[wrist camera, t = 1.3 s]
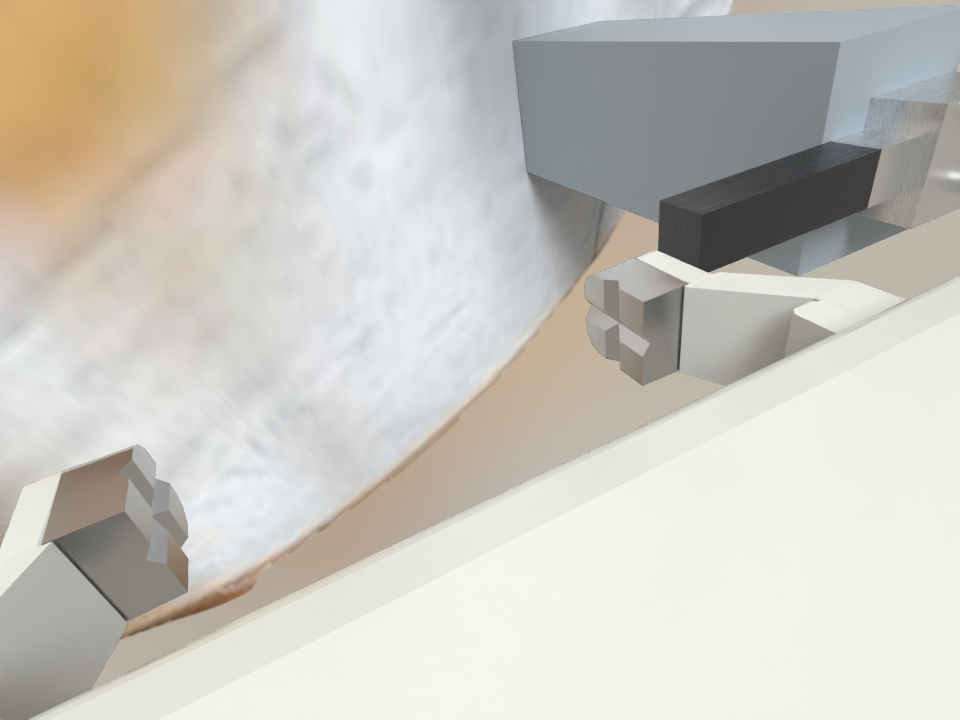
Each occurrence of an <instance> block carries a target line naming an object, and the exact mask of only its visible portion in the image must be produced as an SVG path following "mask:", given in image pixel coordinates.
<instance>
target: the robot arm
mask: <svg viewBox="0 0 960 720" xmlns="http://www.w3.org/2000/svg"><path fill="white" fill-rule="evenodd" d="M584 289H585V290H584V291H585V298H586V299H587V301H588V302H589V303H590V304H592V306H591V308H590V310H589V312H588V315H587V316H586V324H587V333H588V335H589V337H590V340H591V342H592V345H593V346H594V347H595V349H596V350H597V351H598V353H600V354H601V355H602V356H603V357H605V358H606V359H611V360H616V361H620V370H622V371H623V372H625V373H626V374H627V375H629V376H630V377H631V378H633V379H634V380H635V381H637V382H638V383H639V384H641V385H642V386H644V385H646V384H648V383H651V382H653V381H655V380H658V379H660V378H662V377H665V376H667V375H670V374H672V373H674V372H677V371H679V372H680V373H683V374H687V375H690V376H693V377H697V378H700V379H704V380H707V381H711V382H714V383H718V384H722V385H725V387H723V388H721V389H719V390H717V391H715V392H712V393H710V394H709V395H706V396H704V397H702V398H700V399H698V400H696V401H694V402H692V403H689V404H687V405H685V406H683V407H681V408H679V409H677V410H675V411H673V412H671V413H669V414H666V415H664V416H662V417H660V418H658V419H656V420H654V421H652V422H650V423H648V424H646V425H644V426H642V427H639V428H637V429H635V430H633V431H631V432H629V433H627V434H625V435H623V436H620V437H618V438H616V439H614V440H612V441H610V442H608V443H606V444H604V445H602V446H600V447H597V448H595V449H593V450H591V451H589V452H587V453H585V454H583V455H581V456H579V457H577V458H574V459H573V460H570V461H568V462H566V463H564V464H562V465H560V466H558V467H556V468H554V469H551V470H549V471H547V472H545V473H543V474H541V475H539V476H537V477H535V478H533V479H531V480H528V481H526V482H524V483H522V484H520V485H518V486H516V487H514V488H512V489H510V490H508V491H505V492H503V493H501V494H499V495H497V496H495V497H493V498H491V499H489V500H487V501H485V502H482V503H480V504H478V505H476V506H474V507H472V508H470V509H468V510H466V511H464V512H462V513H459V514H457V515H455V516H453V517H451V518H449V519H447V520H445V521H443V522H441V523H439V524H436V525H434V526H432V527H430V528H428V529H426V530H424V531H422V532H420V533H418V534H415V535H414V536H411V537H409V538H407V539H405V540H403V541H401V542H399V543H397V544H395V545H393V546H390V547H388V548H386V549H384V550H382V551H380V552H378V553H376V554H374V555H372V556H369V557H367V558H365V559H363V560H361V561H359V562H357V563H355V564H353V565H351V566H348V567H346V568H344V569H343V570H340V571H338V572H336V573H334V574H332V575H330V576H328V577H325V578H323V579H321V580H319V581H317V582H315V583H313V584H311V585H309V586H307V587H305V588H302V589H300V590H298V591H297V592H294V593H292V594H290V595H288V596H286V597H284V598H282V599H279V600H277V601H275V602H273V603H271V604H269V605H267V606H265V607H263V608H261V609H258V610H257V611H254V612H252V613H250V614H248V615H246V616H244V617H242V618H240V619H238V620H235V621H233V622H231V623H229V624H227V625H225V626H223V627H221V628H219V629H217V630H214V631H212V632H210V633H208V634H206V635H204V636H202V637H200V638H198V639H196V640H194V641H191V642H189V643H187V644H185V645H183V646H181V647H179V648H177V649H175V650H173V651H171V652H169V653H166V654H164V655H162V656H160V657H158V658H156V659H154V660H152V661H150V662H147V663H145V664H143V665H141V666H139V667H137V668H135V669H133V670H131V671H129V672H127V673H124V674H122V675H120V676H118V677H116V678H114V679H112V680H110V681H108V682H106V683H104V684H102V685H100V686H97V687H95V688H93V689H92V687H93V685H94V684H95V682H96V680H97V679H98V677H99V675H100V673H101V671H102V670H103V668H104V666H105V664H106V662H107V661H108V659H109V657H110V655H111V654H112V652H113V650H114V648H115V647H116V645H117V643H118V642H119V640H120V638H121V636H122V635H123V633H124V631H125V629H126V628H127V626H128V622H127V621H129V620H131V619H133V618H135V617H137V616H139V615H141V614H143V613H145V612H148V611H150V610H152V609H154V608H156V607H158V606H160V605H162V604H164V603H166V602H168V601H170V600H172V599H175V598H177V597H179V596H181V595H183V594H185V593H187V592H188V558H187V556H186V555H185V554H184V552H183V551H182V549H181V547H182V545H183V544H184V542H185V541H186V539H187V538H188V524H187V520H186V516H185V512H184V508H183V506H182V504H181V502H180V500H179V498H178V495H177V494H176V492H175V491H174V489H173V488H172V486H171V485H170V483H167V482H164V481H161V480H158V479H155V474H156V463H155V461H154V460H153V459H152V457H151V456H150V455H149V453H148V452H147V450H146V449H145V448H143V447H142V446H140V445H138V444H137V445H134V446H132V447H129V448H126V449H123V450H120V451H118V452H115V453H112V454H109V455H106V456H103V457H101V458H98V459H95V460H92V461H89V462H87V463H84V464H81V465H78V466H75V467H72V468H70V469H68V470H66V471H60V472H57V473H55V474H52V475H50V476H47V477H45V478H42V479H40V480H37V481H35V482H32V483H30V484H28V485H27V486H25V487H23V489H22V491H21V494H20V497H19V499H18V502H17V505H16V507H15V510H14V513H13V515H12V518H11V521H10V523H9V526H8V529H7V531H6V534H5V537H4V539H3V542H2V545H1V547H0V720H960V274H959V275H957V276H955V277H953V278H951V279H949V280H947V281H945V282H942V283H940V284H938V285H936V286H934V287H932V288H930V289H928V290H926V291H924V292H922V293H920V294H917V295H915V296H913V297H911V298H909V299H907V300H906V299H903V298H900V297H898V296H895V295H892V294H889V293H886V292H884V291H881V290H878V289H875V288H873V287H869V286H867V285H864V284H862V283H859V282H856V281H851V280H833V279H818V278H800V277H785V276H768V275H753V274H737V273H736V274H735V273H721V272H720V273H716V274H714V275H712V274H709V273H707V272H705V271H703V270H700V269H698V268H696V267H694V266H691V265H689V264H687V263H684V262H682V261H680V260H678V259H675V258H673V257H671V256H669V255H666V254H664V253H662V252H659V251H649V252H647V253H644V254H642V255H640V256H637V257H635V258H633V259H630V260H628V261H625V262H623V263H620V264H618V265H615V266H613V267H610V268H608V269H605V270H603V271H600V272H598V273H596V274H593V275H591V276H589V277H587V278H586V282H585V285H584Z"/></svg>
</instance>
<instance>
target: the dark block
mask: <svg viewBox="0 0 960 720" xmlns="http://www.w3.org/2000/svg"><path fill="white" fill-rule="evenodd" d="M959 208H960V72H947V73H944V74H941V75H938V76H935V77H932V78H929V79H926V80H923V81H920V82H917V83H914V84H911V85H907V86H904V87H901V88H898V89H895V90H892V91H889V92H886V93H883V94H880V95H877V96H874V97H871V99H870V103H869V108H868V112H867V117H866V121H865V126H864V130H862V131H859V132H856V133H853V134H850V135H847V136H844V137H841V138H838V139H836V140H833V141H830V142H827V143H824V144H821V145H818V146H815V147H812V148H810V149H807V150H804V151H801V152H798V153H795V154H792V155H789V156H786V157H784V158H781V159H778V160H775V161H772V162H769V163H766V164H763V165H760V166H758V167H755V168H752V169H749V170H746V171H743V172H740V173H737V174H734V175H732V176H729V177H726V178H723V179H720V180H717V181H714V182H711V183H708V184H706V185H703V186H700V187H697V188H694V189H691V190H688V191H685V192H682V193H680V194H677V195H674V196H671V197H668V198H665V199H662V200H660V204H659V243H658V251H659V252H662V253H664V254H666V255H669V256H671V257H673V258H675V259H678V260H680V261H682V262H684V263H687V264H689V265H691V266H694V267H696V268H698V269H700V270H703V271H705V272H707V273H708V272H711V271H713V270H715V269H718V268H721V267H723V266H725V265H728V264H731V263H733V262H735V261H738V260H740V259H743V258H745V257H748V256H750V255H753V254H755V253H758V252H760V251H763V250H765V249H768V248H770V247H773V246H775V245H778V244H780V243H783V242H785V241H788V240H790V239H793V238H795V237H798V236H800V235H803V234H805V233H808V232H810V231H813V230H815V229H818V228H820V227H823V226H825V225H828V224H830V223H832V222H835V221H837V220H840V219H842V218H845V217H847V216H850V215H852V214H855V215H859V216H863V217H866V218H870V219H874V220H878V221H882V222H886V223H890V224H893V225H897V226H901V227H905V228H909V229H912V228H915V227H917V226H919V225H922V224H924V223H926V222H929V221H931V220H933V219H936V218H938V217H940V216H943V215H945V214H947V213H950V212H952V211H954V210H957V209H959Z"/></svg>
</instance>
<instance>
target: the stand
mask: <svg viewBox="0 0 960 720" xmlns="http://www.w3.org/2000/svg"><path fill="white" fill-rule="evenodd" d="M513 48H514V57H515V66H516V76H517V85H518V94H519V103H520V112H521V122H522V131H523V140H524V149H525V158H526V168H527V172H529V173H531V174H534V175H536V176H539V177H541V178H544V179H547V180H549V181H552V182H554V183H557V184H560V185H562V186H565V187H567V188H570V189H572V190H575V191H578V192H580V193H583V194H585V195H588V196H591V197H593V198H596V199H598V200H601V201H604V202H606V203H609V204H611V205H614V206H616V207H619V208H622V209H624V210H627V211H629V212H632V213H635V214H637V215H640V216H642V217H645V218H648V219H650V220H653V221H655V222H658V223H659V204H660V200H662V199H665V198H668V197H671V196H674V195H677V194H680V193H682V192H685V191H688V190H691V189H694V188H697V187H700V186H703V185H706V184H708V183H711V182H714V181H717V180H720V179H723V178H726V177H729V176H732V175H734V174H737V173H740V172H743V171H746V170H749V169H752V168H755V167H758V166H760V165H763V164H766V163H769V162H772V161H775V160H778V159H781V158H784V157H786V156H789V155H792V154H795V153H798V152H801V151H804V150H807V149H810V148H812V147H815V146H818V145H821V144H824V143H827V142H830V141H833V140H836V139H838V138H841V137H844V136H847V135H850V134H853V133H856V132H859V131H862V130H864V126H865V121H866V117H867V112H868V108H869V103H870V99H871V97H874V96H877V95H880V94H883V93H886V92H889V91H892V90H895V89H898V88H901V87H904V86H907V85H911V84H914V83H917V82H920V81H923V80H926V79H929V78H932V77H935V76H938V75H941V74H944V73H947V72H956V71H957V67H958V64H959V60H960V5H943V6H921V7H901V8H878V9H856V10H835V11H813V12H792V13H770V14H749V15H726V16H705V17H683V18H662V19H640V20H619V21H599V22H595V23H590V24H586V25H582V26H577V27H573V28H568V29H564V30H560V31H555V32H551V33H547V34H542V35H538V36H533V37H529V38H525V39H520V40H516V41H513ZM907 229H909V228H905V227H901V226H897V225H893V224H890V223H886V222H882V221H878V220H874V219H870V218H866V217H863V216H859V215H855V214H852V215H850V216H847V217H845V218H842V219H840V220H837V221H835V222H832V223H830V224H828V225H825V226H823V227H820V228H818V229H815V230H813V231H810V232H808V233H805V234H803V235H800V236H798V237H795V238H793V239H790V240H788V241H785V242H783V243H780V244H778V245H775V246H773V247H770V248H768V249H765V250H763V251H760V252H758V253H755V254H753V255H750V256H748V257H749V258H751V259H754V260H756V261H759V262H761V263H764V264H767V265H769V266H772V267H774V268H777V269H780V270H782V271H785V272H787V273H790V274H793V275H795V276H800V275H802V274H804V273H806V272H809V271H811V270H813V269H816V268H818V267H821V266H823V265H825V264H828V263H830V262H832V261H835V260H837V259H839V258H842V257H844V256H846V255H849V254H851V253H853V252H856V251H858V250H860V249H863V248H865V247H867V246H870V245H872V244H874V243H877V242H879V241H881V240H883V239H886V238H888V237H890V236H893V235H895V234H898V233H900V232H902V231H904V230H907Z"/></svg>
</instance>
